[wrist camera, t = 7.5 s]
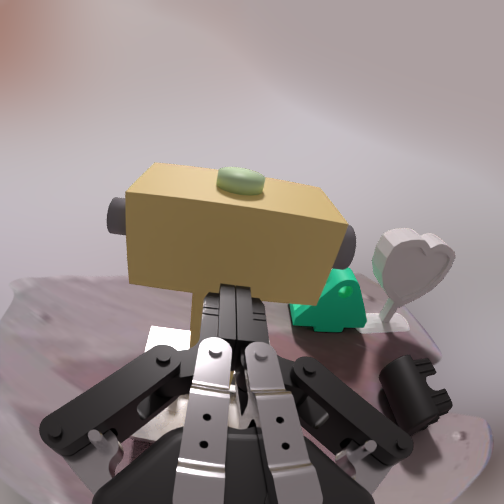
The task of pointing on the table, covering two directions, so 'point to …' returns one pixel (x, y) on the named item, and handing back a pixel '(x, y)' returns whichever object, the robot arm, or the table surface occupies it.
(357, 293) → the camera mount
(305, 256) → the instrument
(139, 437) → the grey metal base plate
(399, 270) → the heart sculpture
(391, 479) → the table surface
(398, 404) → the end cap
